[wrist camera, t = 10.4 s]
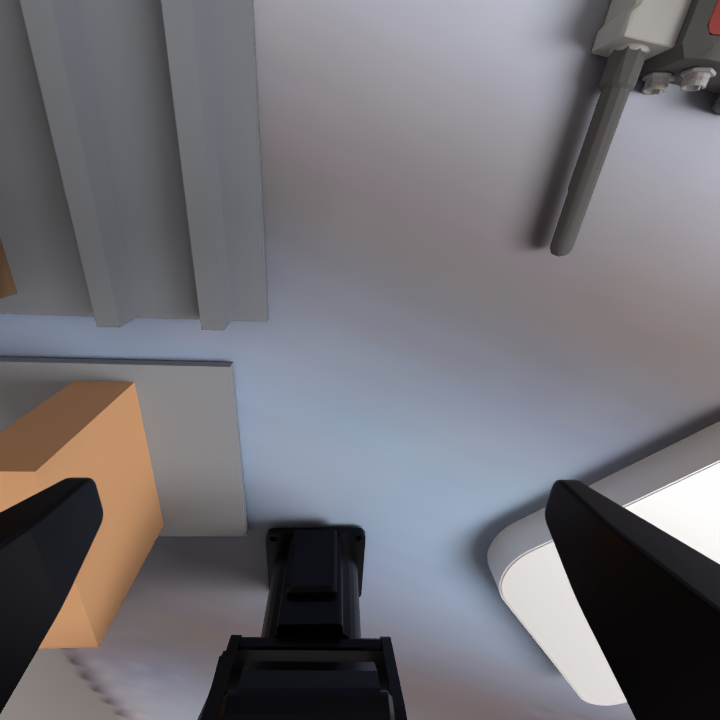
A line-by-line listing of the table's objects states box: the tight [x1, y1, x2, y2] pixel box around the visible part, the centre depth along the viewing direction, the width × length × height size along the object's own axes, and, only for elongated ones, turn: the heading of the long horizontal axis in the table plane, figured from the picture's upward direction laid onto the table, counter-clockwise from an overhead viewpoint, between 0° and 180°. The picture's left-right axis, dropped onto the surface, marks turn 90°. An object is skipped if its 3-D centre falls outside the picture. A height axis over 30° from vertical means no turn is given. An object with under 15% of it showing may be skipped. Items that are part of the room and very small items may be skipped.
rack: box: [0, 0, 269, 330], centre depth 15 cm, size 13×15×2 cm
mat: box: [0, 357, 248, 537], centre depth 22 cm, size 12×13×1 cm
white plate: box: [487, 421, 720, 705], centre depth 28 cm, size 22×22×3 cm
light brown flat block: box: [0, 381, 164, 649], centre depth 18 cm, size 10×3×7 cm, turn 177°
